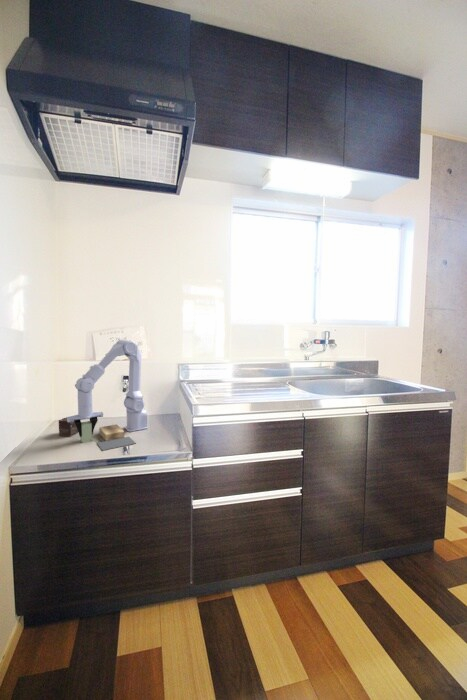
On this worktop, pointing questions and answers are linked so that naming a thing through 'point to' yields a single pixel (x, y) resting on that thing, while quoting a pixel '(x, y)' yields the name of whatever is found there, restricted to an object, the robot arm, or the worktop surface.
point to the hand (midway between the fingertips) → (86, 435)
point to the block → (86, 431)
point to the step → (111, 432)
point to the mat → (115, 443)
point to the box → (67, 428)
